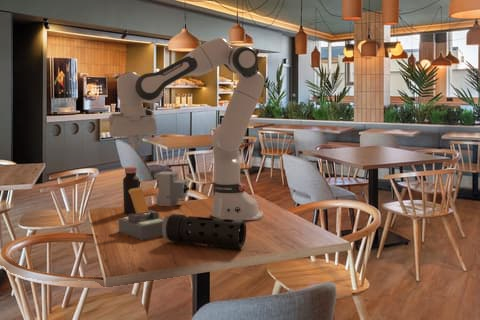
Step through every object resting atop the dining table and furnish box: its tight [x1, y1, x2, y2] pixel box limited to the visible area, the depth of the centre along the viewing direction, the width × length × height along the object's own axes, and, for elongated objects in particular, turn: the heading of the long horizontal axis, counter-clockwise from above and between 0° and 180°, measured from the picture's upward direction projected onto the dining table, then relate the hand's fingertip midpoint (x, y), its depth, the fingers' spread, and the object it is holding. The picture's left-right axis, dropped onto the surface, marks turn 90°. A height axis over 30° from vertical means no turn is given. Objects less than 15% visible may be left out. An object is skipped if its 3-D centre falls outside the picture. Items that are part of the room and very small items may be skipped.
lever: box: [129, 186, 151, 219], centre depth 194 cm, size 2×5×12 cm, turn 131°
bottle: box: [122, 166, 140, 215], centre depth 225 cm, size 7×7×20 cm
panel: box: [118, 209, 165, 241], centre depth 193 cm, size 16×12×8 cm
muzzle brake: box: [162, 213, 247, 250], centre depth 177 cm, size 10×28×10 cm, turn 72°
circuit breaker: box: [155, 171, 190, 207], centre depth 241 cm, size 8×14×15 cm, turn 78°
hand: (135, 147), depth 206 cm, fingers closed
